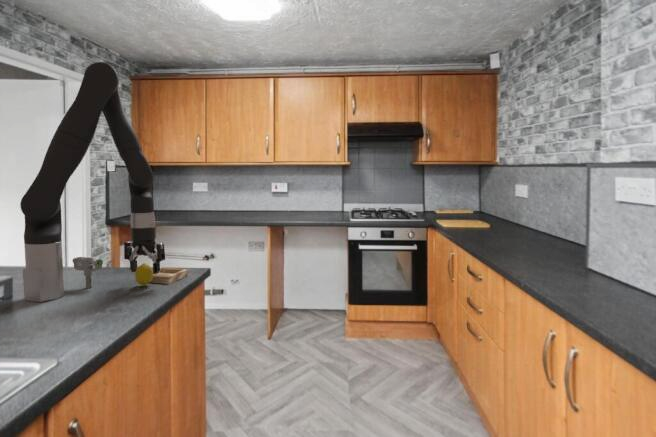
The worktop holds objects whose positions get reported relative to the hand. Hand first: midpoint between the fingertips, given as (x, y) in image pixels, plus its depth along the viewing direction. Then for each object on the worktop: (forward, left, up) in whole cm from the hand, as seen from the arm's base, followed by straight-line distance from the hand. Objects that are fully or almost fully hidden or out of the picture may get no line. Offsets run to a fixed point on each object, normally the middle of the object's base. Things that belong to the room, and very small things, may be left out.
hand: (145, 272), depth 136 cm
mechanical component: (-7, +16, -5) cm, 19 cm away
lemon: (0, 0, -5) cm, 5 cm away
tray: (+11, 0, -5) cm, 12 cm away
